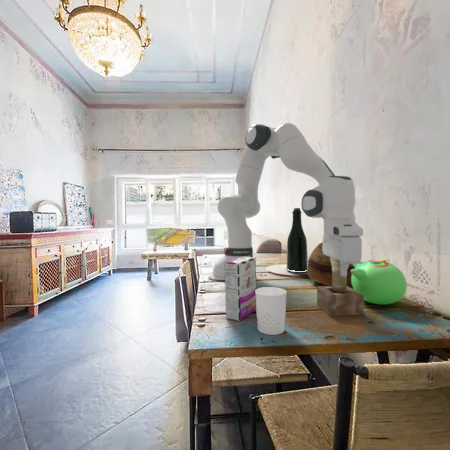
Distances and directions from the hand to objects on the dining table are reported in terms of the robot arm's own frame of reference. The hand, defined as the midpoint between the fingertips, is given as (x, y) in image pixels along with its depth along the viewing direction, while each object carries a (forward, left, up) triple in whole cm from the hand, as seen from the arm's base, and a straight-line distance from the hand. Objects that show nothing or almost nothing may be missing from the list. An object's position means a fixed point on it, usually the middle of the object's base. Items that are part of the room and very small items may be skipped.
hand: (339, 273), depth 83 cm
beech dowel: (0, 0, -5) cm, 5 cm away
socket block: (0, 0, -11) cm, 11 cm away
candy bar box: (-30, -3, -11) cm, 32 cm away
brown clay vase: (+10, +32, -11) cm, 35 cm away
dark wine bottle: (+2, +58, -11) cm, 59 cm away
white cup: (-23, -14, -11) cm, 29 cm away
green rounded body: (+15, +7, -11) cm, 20 cm away
